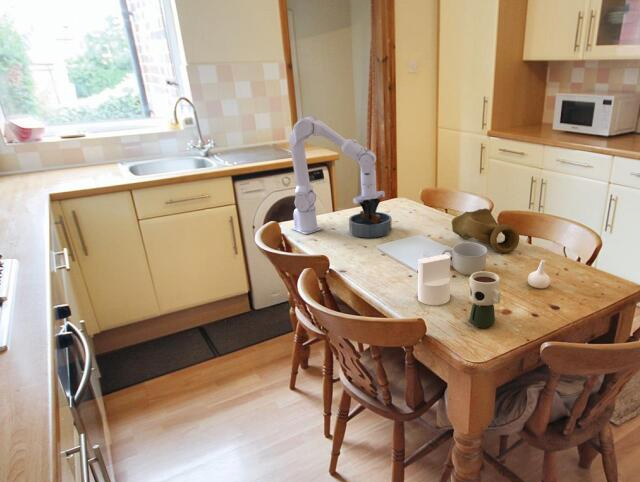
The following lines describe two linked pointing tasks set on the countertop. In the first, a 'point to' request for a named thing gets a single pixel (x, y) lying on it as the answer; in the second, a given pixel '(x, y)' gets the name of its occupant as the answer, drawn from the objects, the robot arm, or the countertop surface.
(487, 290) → the character mug
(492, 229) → the brown looped sculpture
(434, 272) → the cylinder with rectangular tab
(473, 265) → the teacup
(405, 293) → the countertop surface
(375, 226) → the bowl
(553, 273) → the countertop surface
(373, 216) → the brown rectangular block
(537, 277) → the garlic bulb
